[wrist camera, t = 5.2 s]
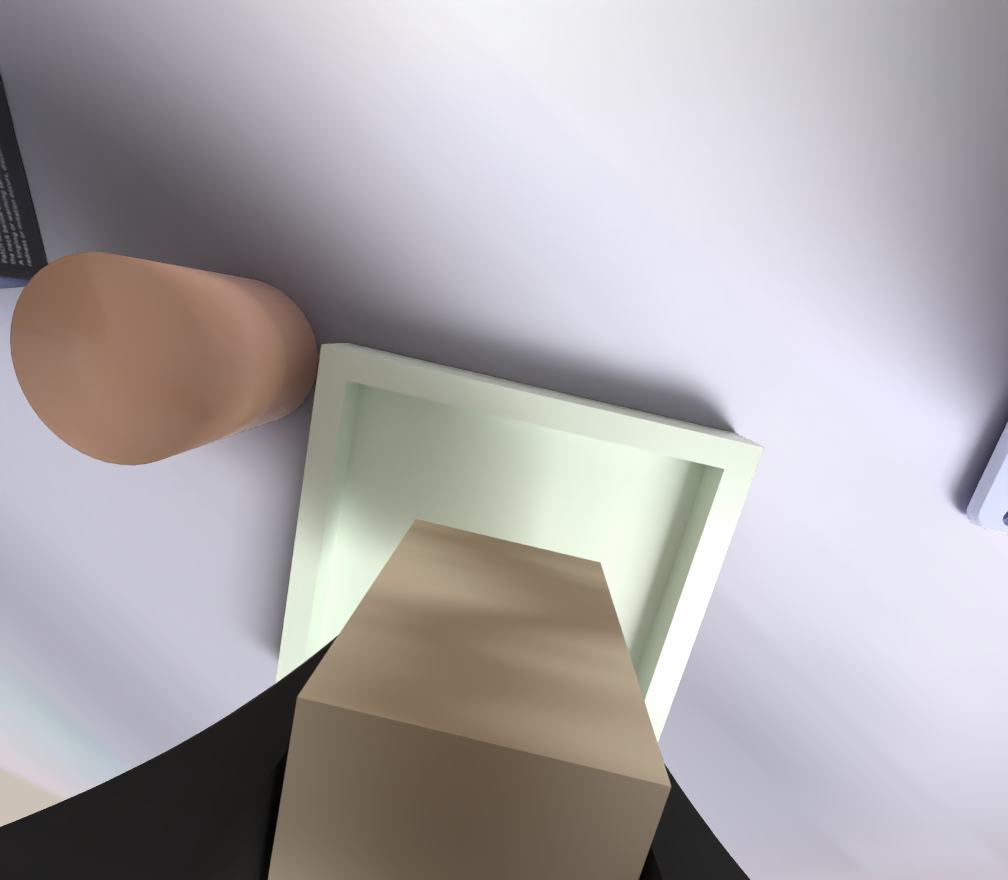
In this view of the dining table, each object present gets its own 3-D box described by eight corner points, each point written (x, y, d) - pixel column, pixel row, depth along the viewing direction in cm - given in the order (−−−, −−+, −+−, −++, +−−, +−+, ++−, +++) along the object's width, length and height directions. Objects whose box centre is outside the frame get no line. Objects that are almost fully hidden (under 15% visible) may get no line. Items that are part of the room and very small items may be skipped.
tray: (736, 433, 15) (764, 447, 13) (625, 755, 17) (635, 803, 16) (347, 342, 15) (321, 344, 13) (297, 676, 18) (271, 714, 16)
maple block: (600, 562, 12) (672, 787, 6) (554, 722, 12) (575, 1057, 7) (415, 519, 12) (297, 697, 6) (382, 681, 13) (252, 978, 7)
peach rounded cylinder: (327, 296, 15) (222, 279, 10) (308, 436, 16) (204, 485, 11) (184, 263, 15) (9, 230, 10) (174, 405, 16) (11, 439, 11)
